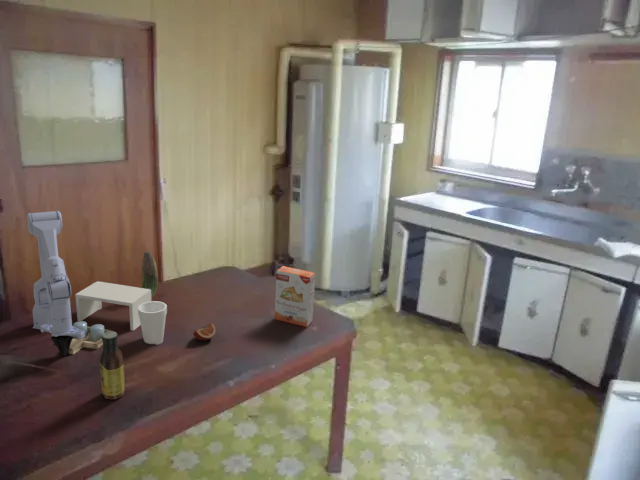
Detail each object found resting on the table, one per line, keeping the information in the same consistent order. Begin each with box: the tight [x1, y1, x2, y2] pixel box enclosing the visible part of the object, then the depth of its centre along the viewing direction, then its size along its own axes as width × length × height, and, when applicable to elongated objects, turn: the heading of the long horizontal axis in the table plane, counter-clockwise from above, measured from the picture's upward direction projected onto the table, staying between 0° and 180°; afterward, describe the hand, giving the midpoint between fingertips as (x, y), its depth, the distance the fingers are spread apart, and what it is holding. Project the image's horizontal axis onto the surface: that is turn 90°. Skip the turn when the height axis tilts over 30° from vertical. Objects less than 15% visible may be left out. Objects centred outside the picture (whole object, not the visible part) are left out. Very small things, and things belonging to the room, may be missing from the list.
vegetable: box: [141, 251, 159, 299], centre depth 215 cm, size 6×6×20 cm
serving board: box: [68, 325, 115, 355], centre depth 179 cm, size 14×15×2 cm
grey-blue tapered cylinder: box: [89, 323, 105, 342], centre depth 181 cm, size 4×4×4 cm
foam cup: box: [138, 300, 168, 346], centre depth 183 cm, size 10×9×13 cm
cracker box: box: [273, 265, 317, 328], centre depth 203 cm, size 14×6×21 cm, turn 68°
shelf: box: [74, 280, 152, 331], centre depth 196 cm, size 22×13×11 cm, turn 78°
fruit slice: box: [192, 322, 217, 341], centre depth 187 cm, size 8×7×5 cm
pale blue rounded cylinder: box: [72, 320, 88, 339], centre depth 183 cm, size 4×4×4 cm
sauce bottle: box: [99, 330, 126, 401], centre depth 151 cm, size 6×6×20 cm
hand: (64, 354), depth 171 cm, fingers closed
